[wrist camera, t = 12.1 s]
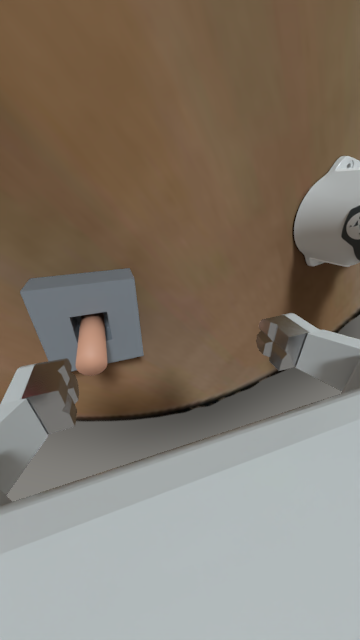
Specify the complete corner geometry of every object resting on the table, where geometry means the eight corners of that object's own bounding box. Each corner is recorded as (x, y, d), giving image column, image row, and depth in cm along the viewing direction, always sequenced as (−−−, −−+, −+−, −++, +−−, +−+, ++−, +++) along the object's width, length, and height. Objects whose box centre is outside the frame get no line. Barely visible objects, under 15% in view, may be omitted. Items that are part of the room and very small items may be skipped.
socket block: (129, 268, 34) (134, 278, 30) (138, 339, 42) (143, 355, 37) (29, 278, 31) (19, 291, 27) (58, 355, 38) (54, 375, 34)
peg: (101, 305, 35) (104, 349, 25) (105, 323, 37) (109, 371, 27) (78, 308, 34) (71, 356, 24) (83, 327, 36) (79, 378, 26)
